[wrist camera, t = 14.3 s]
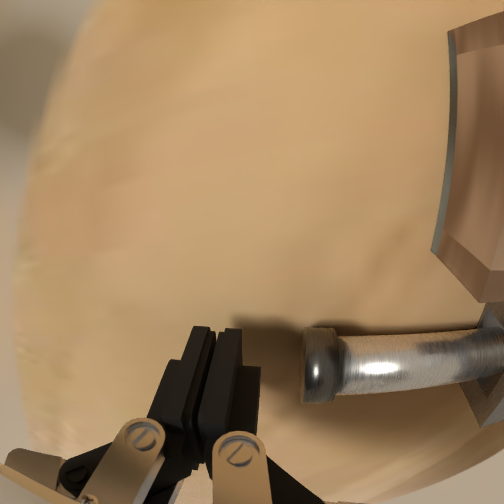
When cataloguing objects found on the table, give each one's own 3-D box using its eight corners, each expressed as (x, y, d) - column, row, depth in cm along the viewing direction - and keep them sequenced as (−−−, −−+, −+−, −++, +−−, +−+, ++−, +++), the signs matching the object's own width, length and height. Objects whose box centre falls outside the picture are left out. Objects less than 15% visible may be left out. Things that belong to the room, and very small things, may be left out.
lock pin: (471, 354, 12) (494, 393, 9) (297, 365, 12) (299, 418, 10) (492, 308, 10) (523, 345, 8) (304, 312, 11) (310, 366, 8)
